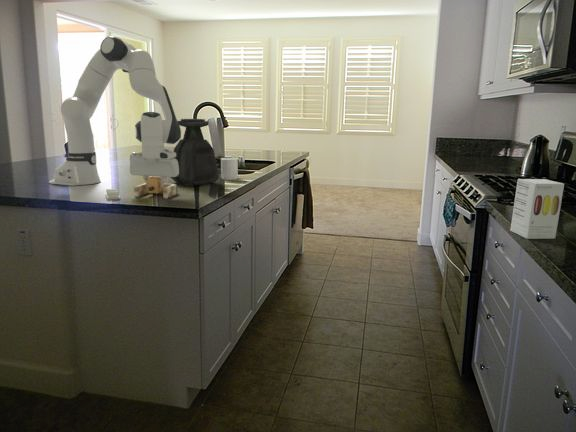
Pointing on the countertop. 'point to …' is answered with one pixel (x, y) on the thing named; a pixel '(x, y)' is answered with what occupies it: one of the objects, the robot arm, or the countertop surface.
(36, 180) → the countertop surface
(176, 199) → the countertop surface
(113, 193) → the guide clip
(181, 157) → the dark grey vase
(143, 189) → the end holder
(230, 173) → the cup
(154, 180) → the connector
